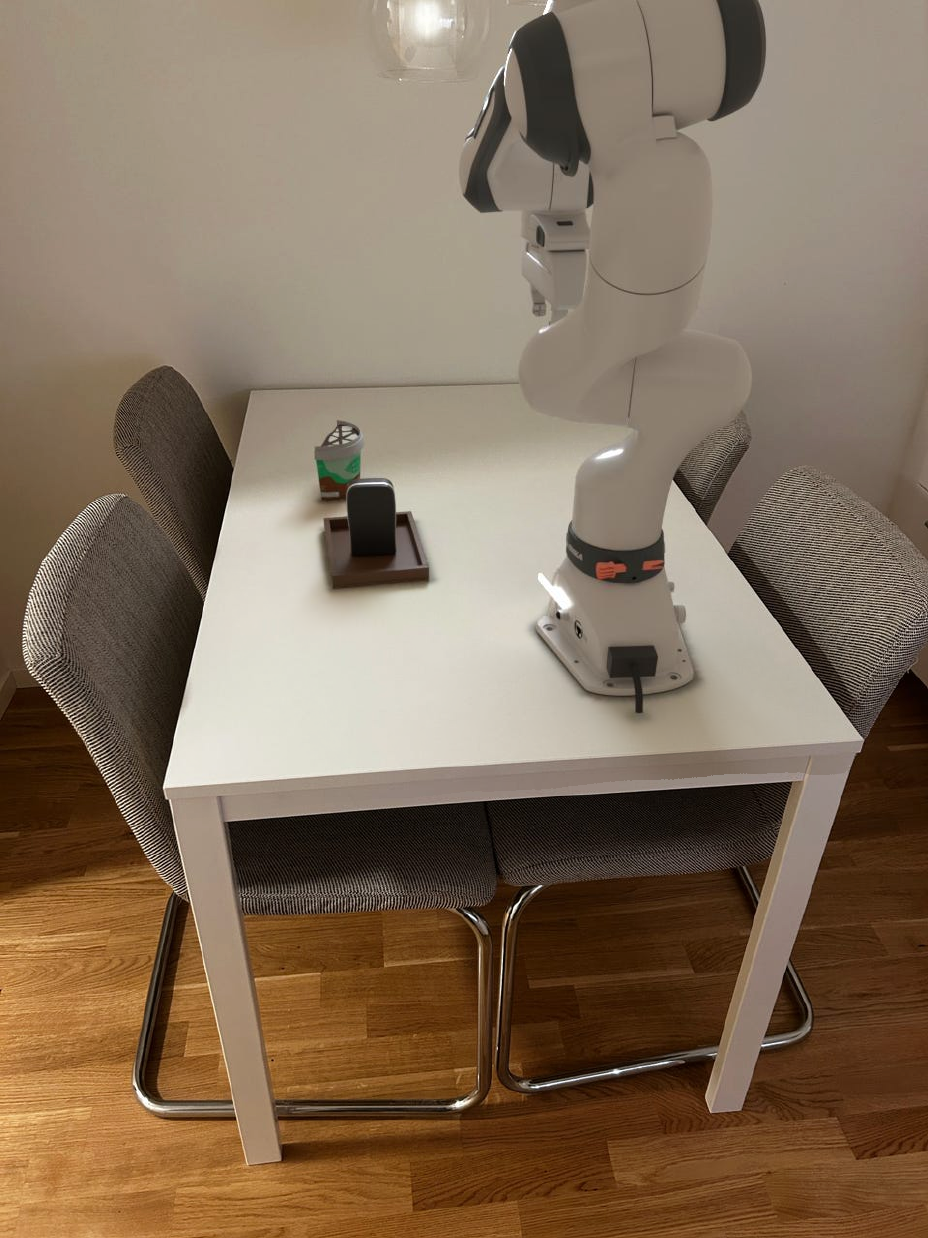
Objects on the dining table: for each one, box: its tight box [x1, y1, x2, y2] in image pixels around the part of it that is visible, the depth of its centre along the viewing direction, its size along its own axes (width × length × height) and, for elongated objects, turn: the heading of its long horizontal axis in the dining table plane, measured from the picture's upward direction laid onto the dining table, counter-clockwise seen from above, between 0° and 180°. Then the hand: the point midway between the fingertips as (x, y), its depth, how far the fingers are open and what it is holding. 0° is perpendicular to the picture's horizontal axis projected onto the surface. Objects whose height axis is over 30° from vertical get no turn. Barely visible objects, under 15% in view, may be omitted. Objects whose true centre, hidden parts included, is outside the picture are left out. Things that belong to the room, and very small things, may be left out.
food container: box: [314, 419, 366, 502], centre depth 154 cm, size 12×6×10 cm, turn 168°
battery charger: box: [345, 477, 397, 556], centre depth 136 cm, size 7×4×11 cm, turn 95°
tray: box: [323, 510, 430, 590], centre depth 139 cm, size 18×14×2 cm
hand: (547, 324), depth 137 cm, fingers open, 8 cm apart
